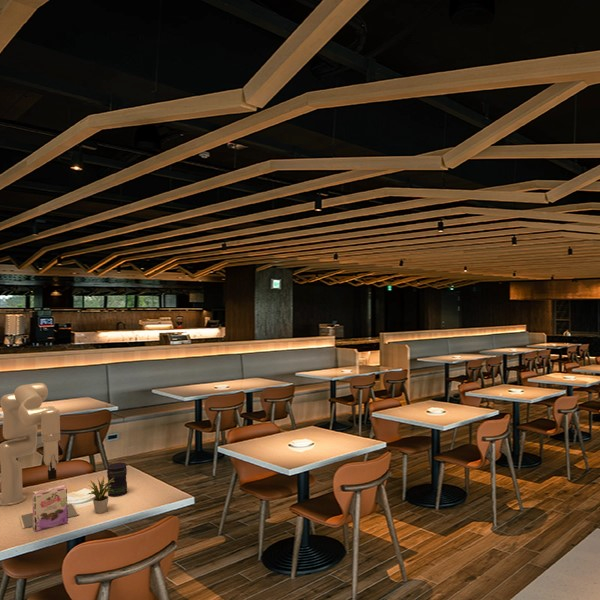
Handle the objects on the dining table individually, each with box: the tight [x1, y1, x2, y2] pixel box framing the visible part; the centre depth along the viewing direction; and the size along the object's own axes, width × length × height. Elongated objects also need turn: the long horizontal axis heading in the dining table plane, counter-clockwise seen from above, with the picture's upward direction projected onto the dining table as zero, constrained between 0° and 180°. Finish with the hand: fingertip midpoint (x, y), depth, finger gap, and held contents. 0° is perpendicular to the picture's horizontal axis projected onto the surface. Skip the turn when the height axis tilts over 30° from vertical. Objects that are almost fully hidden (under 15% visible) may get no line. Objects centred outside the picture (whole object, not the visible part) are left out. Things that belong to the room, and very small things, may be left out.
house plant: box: [87, 476, 114, 514], centre depth 244 cm, size 14×14×16 cm
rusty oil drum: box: [106, 462, 128, 498], centre depth 267 cm, size 10×10×15 cm
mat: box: [18, 502, 80, 530], centre depth 240 cm, size 16×24×1 cm
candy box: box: [31, 484, 69, 532], centre depth 230 cm, size 14×6×16 cm, turn 126°
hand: (52, 478), depth 223 cm, fingers closed
